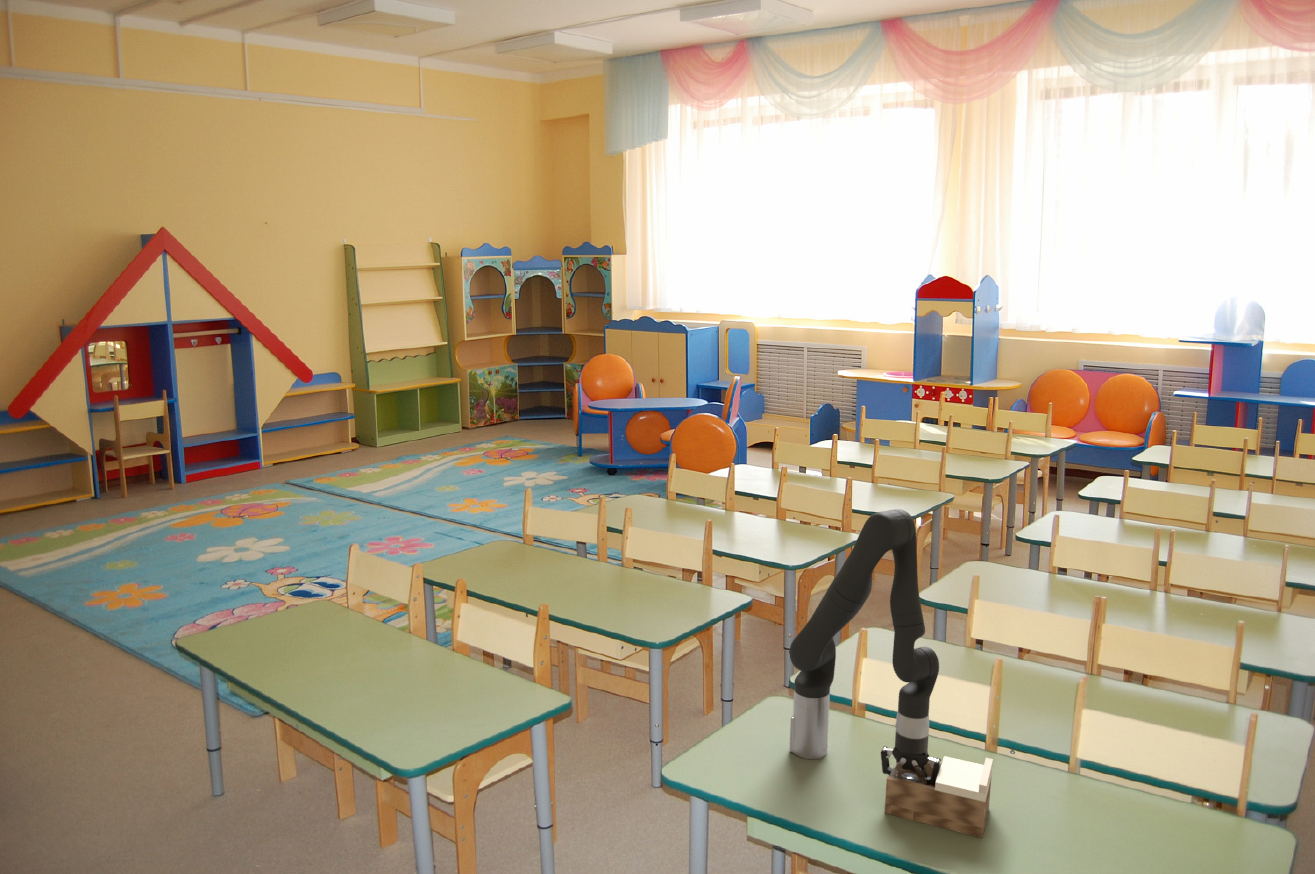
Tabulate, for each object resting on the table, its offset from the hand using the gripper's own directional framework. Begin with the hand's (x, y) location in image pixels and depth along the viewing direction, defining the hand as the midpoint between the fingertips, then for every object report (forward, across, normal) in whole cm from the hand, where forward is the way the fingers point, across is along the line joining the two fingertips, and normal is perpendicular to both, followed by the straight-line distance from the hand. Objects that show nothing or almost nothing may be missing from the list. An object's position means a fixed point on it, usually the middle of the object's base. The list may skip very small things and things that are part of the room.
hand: (908, 793), depth 228 cm
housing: (+3, -7, 0) cm, 7 cm away
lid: (-6, -12, 0) cm, 14 cm away
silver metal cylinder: (+3, 0, 0) cm, 3 cm away
